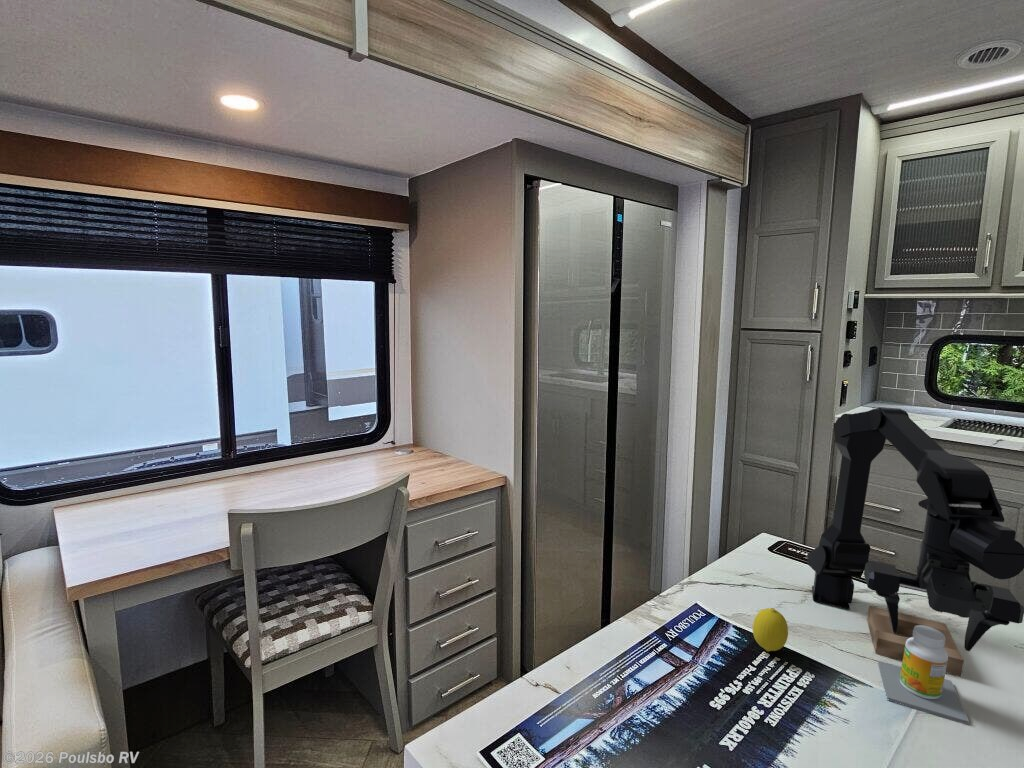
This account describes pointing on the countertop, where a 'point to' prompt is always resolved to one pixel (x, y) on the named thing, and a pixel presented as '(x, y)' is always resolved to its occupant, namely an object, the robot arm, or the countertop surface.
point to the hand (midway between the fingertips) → (929, 640)
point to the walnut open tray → (895, 644)
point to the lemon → (770, 629)
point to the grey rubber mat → (942, 706)
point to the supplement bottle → (924, 663)
